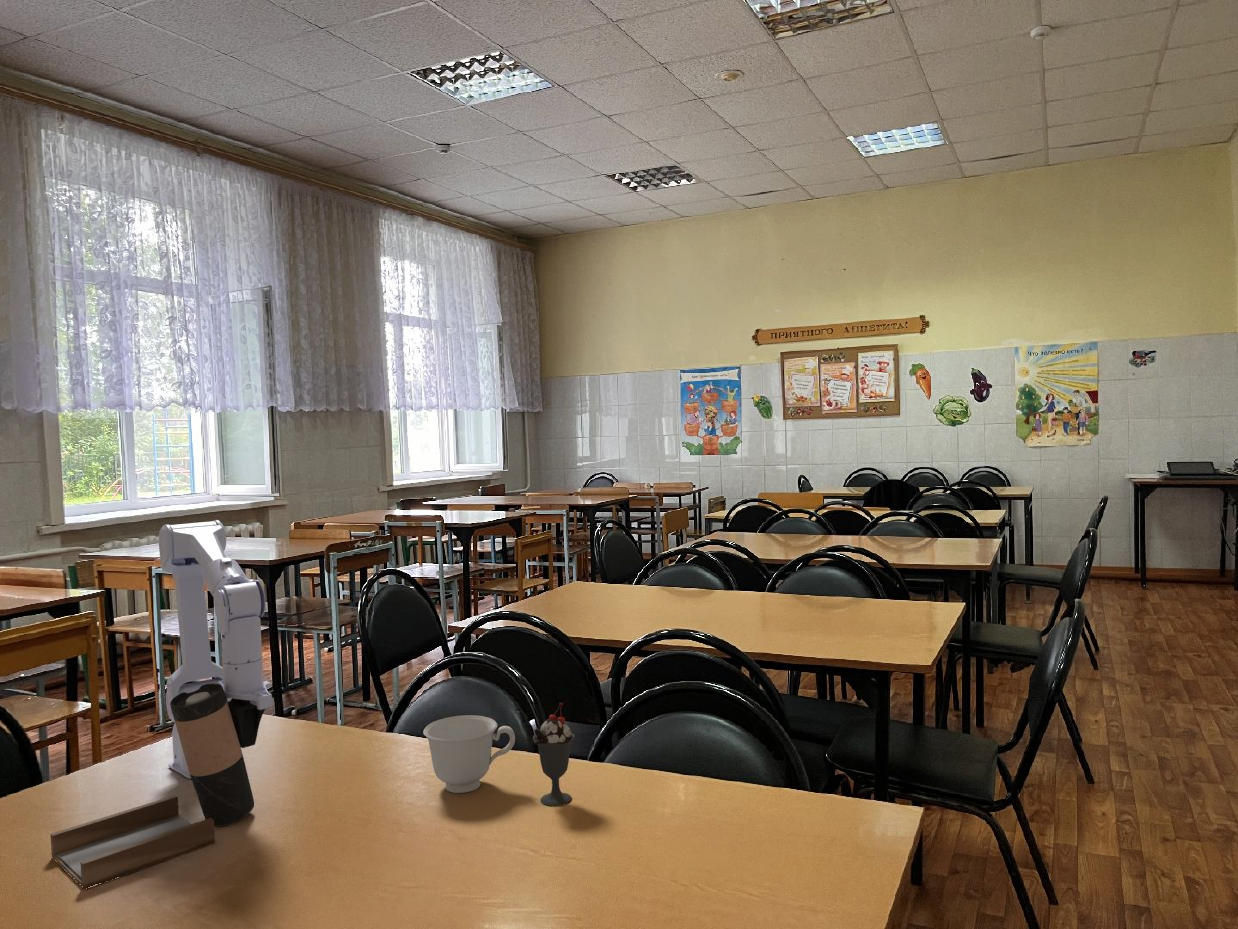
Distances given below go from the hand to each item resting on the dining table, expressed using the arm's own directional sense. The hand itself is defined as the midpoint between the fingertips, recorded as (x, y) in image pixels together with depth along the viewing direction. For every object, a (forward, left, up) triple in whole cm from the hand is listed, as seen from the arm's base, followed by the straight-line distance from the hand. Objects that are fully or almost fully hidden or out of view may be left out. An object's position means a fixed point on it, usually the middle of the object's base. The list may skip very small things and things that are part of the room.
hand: (247, 745), depth 141 cm
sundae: (+35, +33, -11) cm, 49 cm away
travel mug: (0, -3, -10) cm, 10 cm away
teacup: (+20, +28, -11) cm, 36 cm away
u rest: (0, -17, -10) cm, 20 cm away
